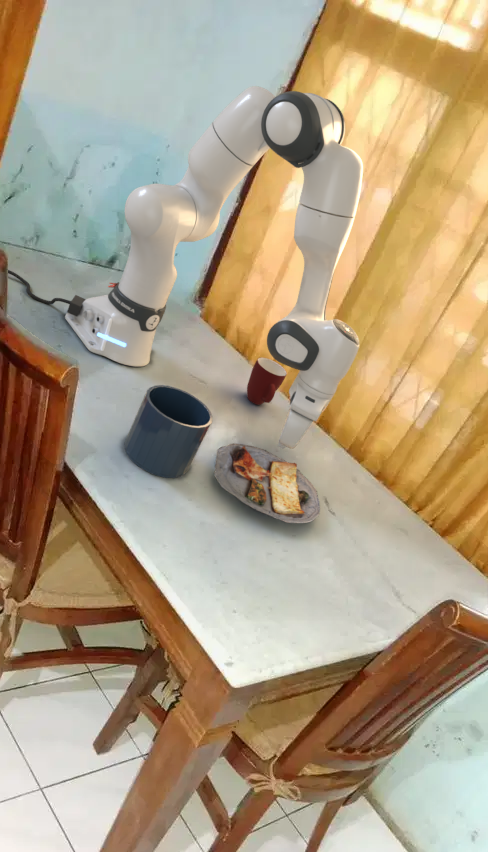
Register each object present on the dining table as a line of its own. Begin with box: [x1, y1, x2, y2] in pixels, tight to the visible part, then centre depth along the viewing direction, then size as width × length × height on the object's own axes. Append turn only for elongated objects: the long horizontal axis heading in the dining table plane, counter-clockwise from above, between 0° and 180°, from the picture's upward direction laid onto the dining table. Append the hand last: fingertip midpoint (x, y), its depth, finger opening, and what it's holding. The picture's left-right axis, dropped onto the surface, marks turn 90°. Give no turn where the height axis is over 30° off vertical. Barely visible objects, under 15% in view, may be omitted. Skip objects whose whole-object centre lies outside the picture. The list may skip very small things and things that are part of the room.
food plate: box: [213, 442, 321, 524], centre depth 147 cm, size 25×23×4 cm
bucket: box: [123, 384, 214, 479], centre depth 137 cm, size 13×13×12 cm
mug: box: [246, 356, 288, 406], centre depth 177 cm, size 10×8×10 cm
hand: (281, 444), depth 161 cm, fingers closed
